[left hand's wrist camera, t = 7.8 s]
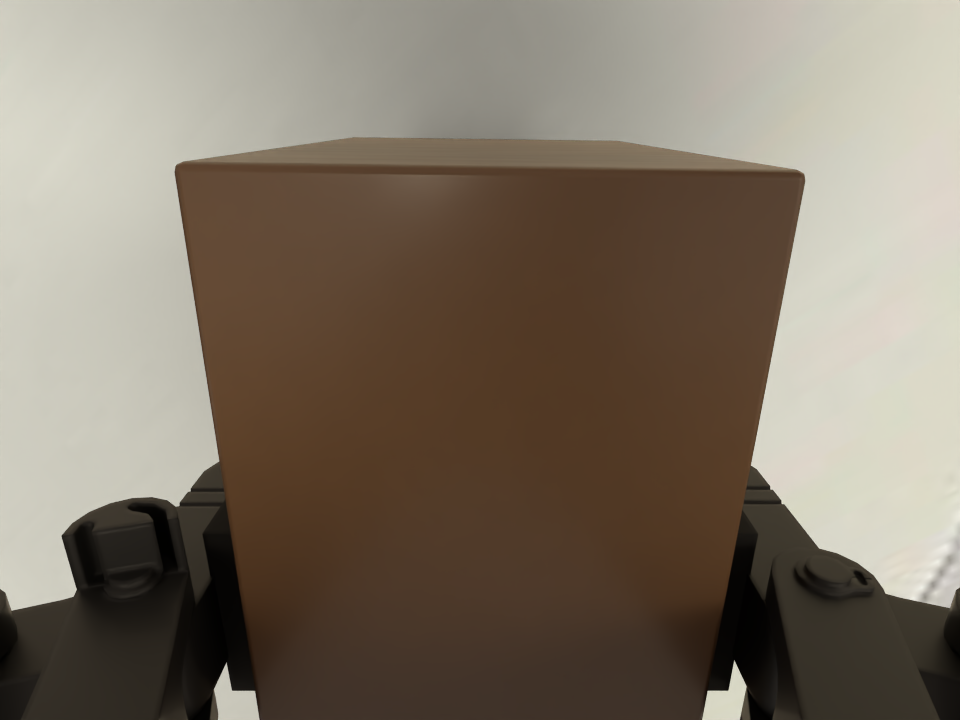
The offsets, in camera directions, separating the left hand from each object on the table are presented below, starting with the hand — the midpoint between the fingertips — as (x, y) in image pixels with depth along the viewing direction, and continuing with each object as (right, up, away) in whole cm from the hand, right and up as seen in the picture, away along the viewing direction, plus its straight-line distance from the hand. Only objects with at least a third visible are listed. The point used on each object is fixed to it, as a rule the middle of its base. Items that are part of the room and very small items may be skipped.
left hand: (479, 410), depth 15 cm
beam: (0, -18, +7) cm, 19 cm away
